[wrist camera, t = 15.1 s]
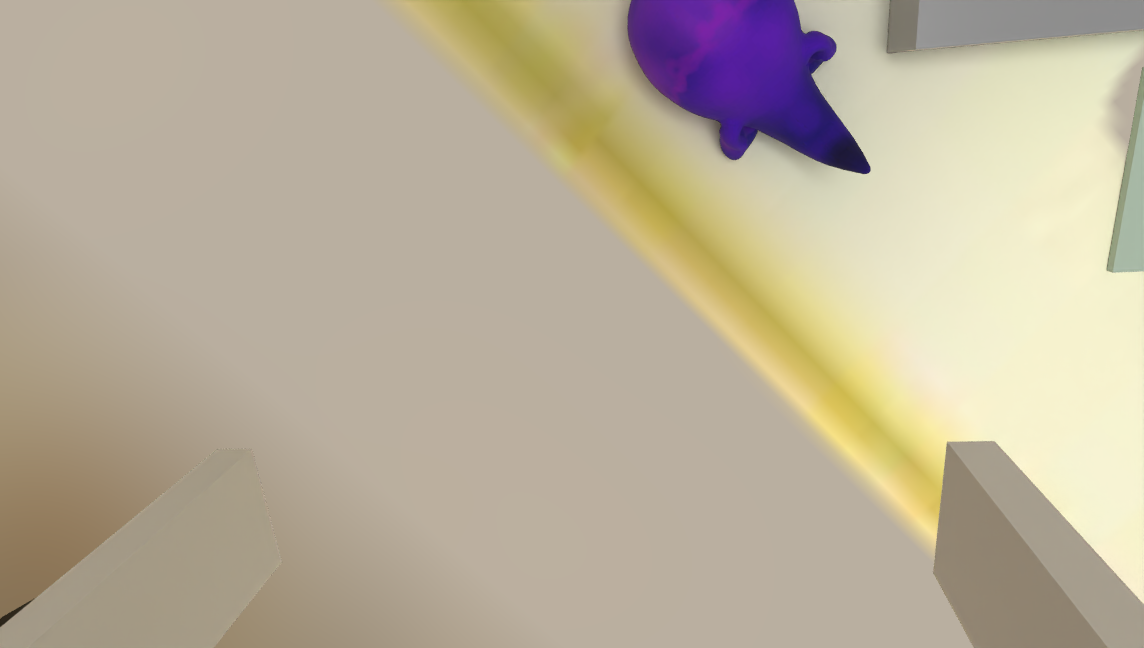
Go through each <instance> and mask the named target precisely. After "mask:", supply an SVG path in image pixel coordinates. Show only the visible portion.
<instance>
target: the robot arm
mask: <svg viewBox="0 0 1144 648" xmlns="http://www.w3.org/2000/svg"><path fill="white" fill-rule="evenodd" d="M281 562H282V561H281V557H280V553H279V549H278V546H277V542H276V538H275V535H274V530H273V527H272V523H271V519H270V515H269V512H268V508H267V504H266V500H265V496H264V493H263V489H262V485H261V481H260V477H259V474H258V470H257V466H256V462H255V459H254V455H253V451H252V449H217V450H215V451H214V452H213V453H212V454H211V455H209V456H208V457H207V458H206V459H204V460H203V461H202V462H201V463H200V464H198V465H197V466H196V467H195V468H194V469H193V470H191V471H190V472H189V473H187V474H186V475H185V476H184V477H183V478H182V479H180V480H179V481H178V482H177V483H175V484H174V485H173V486H172V487H170V488H169V489H168V490H167V491H166V492H164V493H163V494H162V495H161V496H159V497H158V498H157V499H156V500H155V501H153V502H152V503H151V504H150V505H148V506H147V507H146V508H145V509H144V510H142V511H141V512H140V513H139V514H138V515H136V516H135V517H134V518H133V519H131V520H130V521H129V522H128V523H127V524H125V525H124V526H123V527H122V528H121V529H119V530H118V531H117V532H116V533H114V535H112V536H111V537H110V538H108V539H107V540H106V541H105V542H103V544H101V545H100V546H99V547H98V548H96V549H95V550H94V551H93V552H91V553H90V554H89V555H88V556H86V557H85V558H84V559H83V560H82V561H80V562H79V563H78V564H77V565H76V566H74V567H73V568H72V569H71V570H69V571H68V572H67V573H66V574H65V575H64V576H62V577H61V578H60V579H58V580H57V581H56V582H55V583H54V584H52V585H51V586H50V587H49V588H47V589H46V590H45V591H44V592H43V593H41V594H40V595H39V596H38V597H36V598H35V599H33V600H31V601H29V602H28V603H26V604H24V605H22V606H21V607H19V608H17V609H16V610H14V611H12V612H10V613H8V614H7V615H5V616H3V617H2V618H1V619H0V648H214V647H215V645H216V644H217V642H219V640H220V639H221V638H222V636H223V635H224V634H225V633H226V632H227V630H228V629H229V628H230V626H231V625H232V624H233V623H234V621H235V620H236V619H237V618H238V616H239V615H240V614H241V613H242V611H243V610H244V609H245V607H246V606H247V605H248V604H249V603H250V601H251V600H252V599H253V598H254V596H255V595H256V594H257V593H258V591H259V590H260V589H261V588H262V586H263V585H264V584H265V582H266V581H267V580H268V579H269V577H270V576H271V575H272V574H273V573H274V571H275V570H276V569H277V567H278V566H279V565H280V564H281ZM933 574H934V575H935V577H936V579H937V581H938V583H939V584H940V586H941V588H942V590H943V592H944V594H945V596H946V597H947V599H948V601H949V603H950V605H951V607H952V609H953V610H954V612H955V614H956V615H957V617H958V620H959V621H960V623H961V625H962V627H963V629H964V631H965V632H966V634H967V636H968V638H969V640H970V642H971V643H972V645H973V647H974V648H1144V604H1143V603H1142V602H1141V601H1140V600H1139V599H1138V598H1137V597H1136V595H1135V594H1134V593H1133V592H1132V591H1131V590H1130V589H1129V588H1128V587H1127V586H1126V585H1125V583H1124V582H1123V581H1122V580H1121V579H1120V578H1119V577H1118V576H1117V575H1116V574H1115V572H1114V571H1113V570H1112V569H1111V568H1110V567H1109V566H1108V565H1107V564H1106V563H1105V562H1104V560H1103V559H1102V558H1101V557H1100V556H1099V555H1098V554H1097V553H1096V552H1095V551H1094V549H1093V548H1092V547H1091V546H1090V545H1089V544H1088V543H1087V542H1086V541H1085V540H1084V539H1083V537H1082V536H1081V535H1080V534H1079V533H1078V532H1077V531H1076V530H1075V529H1074V528H1073V527H1072V525H1071V524H1070V523H1069V522H1068V521H1067V520H1066V519H1065V518H1064V517H1063V516H1062V514H1061V513H1060V512H1059V511H1058V510H1057V509H1056V508H1055V507H1054V506H1053V505H1052V504H1051V502H1050V501H1049V500H1048V499H1047V498H1046V497H1045V496H1044V495H1043V494H1042V493H1041V491H1040V490H1039V489H1038V488H1037V487H1036V486H1035V485H1034V484H1033V483H1032V482H1031V481H1030V479H1029V478H1028V477H1027V476H1026V475H1025V474H1024V473H1023V472H1022V471H1021V470H1020V469H1019V467H1018V466H1017V465H1016V464H1015V463H1014V462H1013V461H1012V460H1011V459H1010V458H1009V456H1008V455H1007V454H1006V453H1005V452H1004V451H1003V450H1002V449H1001V448H1000V447H999V446H998V444H997V443H996V442H995V441H979V442H947V447H946V457H945V466H944V475H943V485H942V494H941V503H940V513H939V522H938V531H937V541H936V550H935V560H934V569H933Z"/></svg>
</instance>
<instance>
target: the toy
mask: <svg viewBox="0 0 1144 648" xmlns="http://www.w3.org/2000/svg"><path fill="white" fill-rule="evenodd" d="M628 36H629V41H630V45H631V47H632V50H633V52H634V54H635V57H636V59H637V61H638V63H639V65H640V67H641V69H642V70H643V72H644V74H645V75H646V77H647V78H648V79H649V81H650V82H651V83H652V84H653V85H654V87H655V88H657V89H658V90H659V91H660V92H661V93H662V94H663V95H665V96H666V97H667V98H669V99H670V100H671V101H673V102H674V103H676V104H677V105H679V106H680V107H682V108H684V109H685V110H687V111H689V112H691V113H694V114H696V115H699V116H702V117H705V118H709V119H714V120H717V121H718V122H720V123H721V128H720V130H719V133H720V145H721V149H722V151H723V153H724V154H725V155H726V156H727V157H728V158H730V159H732V160H737V159H739V158H741V156H742V155H743V154H744V152H745V151H746V150H747V148H748V147H749V146H750V144H751V143H752V141H753V140H754V138H755V136H756V134H757V131H758V130H759V131H761V132H763V133H765V134H767V135H769V136H771V137H773V138H775V139H777V140H779V141H781V142H783V143H785V144H786V145H788V146H790V147H791V148H793V149H795V150H797V151H798V152H800V153H802V154H804V155H806V156H808V157H810V158H812V159H814V160H816V161H819V162H821V163H824V164H826V165H829V166H833V167H836V168H840V169H843V170H847V171H852V172H857V173H861V174H867V173H869V172H870V171H871V170H870V165H869V164H868V162H867V160H866V158H865V156H864V154H863V152H862V151H861V149H860V147H859V146H858V144H857V143H856V141H855V139H854V138H853V136H852V135H851V134H850V132H849V131H848V130H847V128H846V127H845V126H844V124H843V123H842V122H841V120H840V119H839V117H838V116H837V115H836V113H835V112H834V111H833V109H832V108H831V107H830V105H829V104H828V102H827V101H826V100H825V98H824V97H823V95H822V94H821V92H820V91H819V89H818V87H817V86H816V84H815V82H814V80H813V78H812V76H811V74H812V73H813V72H814V71H815V70H816V69H817V68H818V67H819V66H820V64H821V63H822V62H823V61H828V59H829V60H830V59H831V57H833V55H834V54H835V52H836V43H835V42H834V40H833V39H832V38H831V37H829V36H827V35H824V34H822V33H821V32H818V31H811V32H808V33H807V34H805V33H803V32H802V30H801V26H800V20H799V15H798V11H797V8H796V5H795V2H794V0H631V4H630V7H629V13H628Z"/></svg>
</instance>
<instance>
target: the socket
mask: <svg viewBox="0 0 1144 648" xmlns="http://www.w3.org/2000/svg"><path fill="white" fill-rule="evenodd" d="M1142 30H1144V0H890V13H889V29H888V45H887V53H894V52H906V51H917V50H928V49H939V48H951V47H962V46H973V45H984V44H996V43H1007V42H1018V41H1029V40H1041V39H1052V38H1063V37H1074V36H1085V35H1097V34H1108V33H1119V32H1130V31H1142Z"/></svg>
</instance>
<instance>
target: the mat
mask: <svg viewBox="0 0 1144 648" xmlns="http://www.w3.org/2000/svg"><path fill="white" fill-rule="evenodd" d="M1107 270H1108V271H1110V272H1137V271H1144V67H1143V68H1142V73H1141V78H1140V84H1139V90H1138V96H1137V101H1136V107H1135V113H1134V118H1133V124H1132V130H1131V135H1130V141H1129V147H1128V152H1127V158H1126V164H1125V169H1124V175H1123V181H1122V187H1121V192H1120V198H1119V204H1118V209H1117V215H1116V221H1115V226H1114V232H1113V238H1112V243H1111V249H1110V255H1109V261H1108V266H1107Z"/></svg>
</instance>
